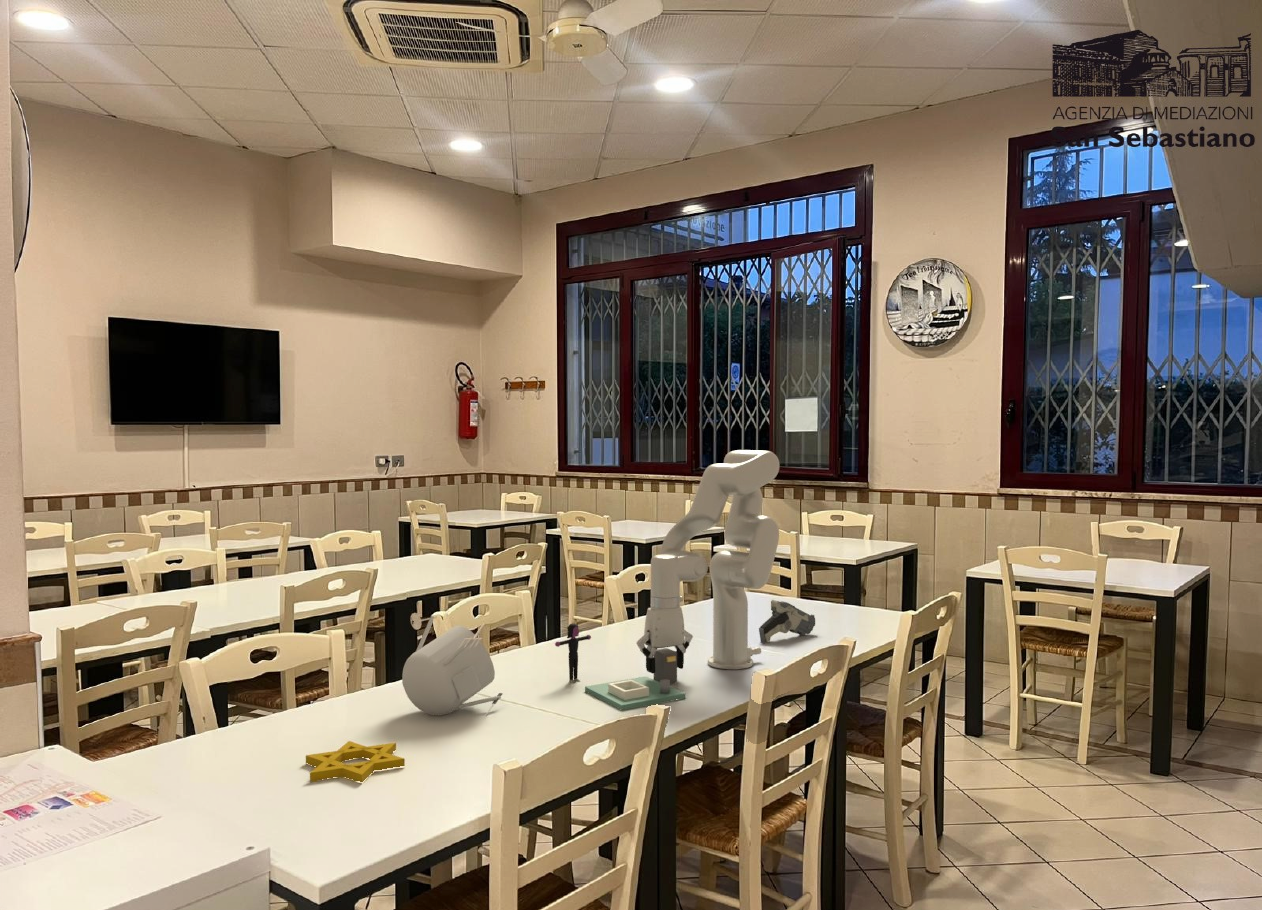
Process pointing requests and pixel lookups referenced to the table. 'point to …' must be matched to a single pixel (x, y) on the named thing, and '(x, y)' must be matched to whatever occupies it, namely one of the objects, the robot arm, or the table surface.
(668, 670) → the plug
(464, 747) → the table surface
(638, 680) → the board
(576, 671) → the figurine
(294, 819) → the table surface
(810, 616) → the toy gun
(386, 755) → the star of david
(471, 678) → the satellite
